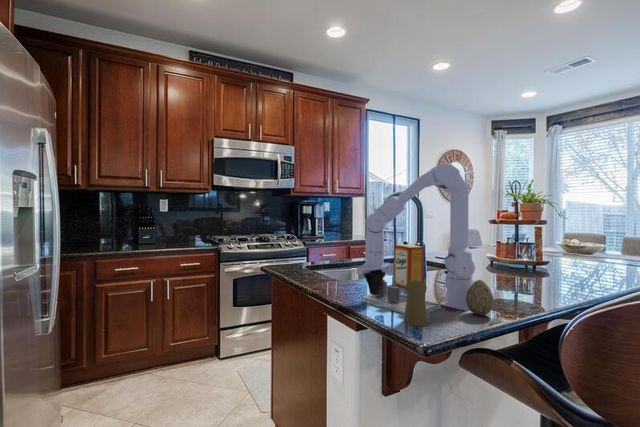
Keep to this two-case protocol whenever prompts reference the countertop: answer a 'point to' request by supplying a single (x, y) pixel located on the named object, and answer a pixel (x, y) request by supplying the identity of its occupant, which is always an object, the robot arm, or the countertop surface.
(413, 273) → the baking soda box
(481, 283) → the decorative egg
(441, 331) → the countertop surface
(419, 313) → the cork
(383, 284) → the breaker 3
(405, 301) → the panel
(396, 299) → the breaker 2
